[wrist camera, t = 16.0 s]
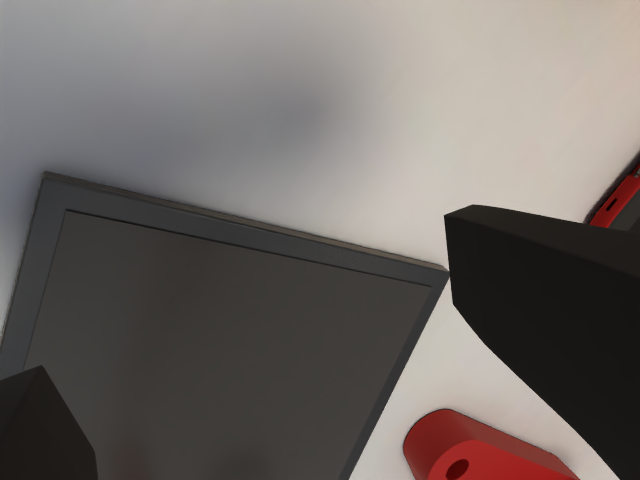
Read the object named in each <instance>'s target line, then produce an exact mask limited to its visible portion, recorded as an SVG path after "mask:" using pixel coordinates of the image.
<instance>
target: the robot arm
mask: <svg viewBox="0 0 640 480" xmlns="http://www.w3.org/2000/svg"><path fill="white" fill-rule="evenodd" d="M444 221H445V231H446V241H447V251H448V261H449V271H450V281H451V291H452V301H453V305H454V306H455V307H456V309H457V310H458V311H459V313H460V314H461V315H462V317H463V318H464V319H465V321H466V322H467V323H468V324H469V326H470V327H471V328H472V329H473V331H474V332H475V333H476V334H477V335H478V337H479V338H480V339H481V340H482V342H483V343H484V344H485V345H486V346H487V347H488V348H489V349H490V350H491V351H492V352H493V353H494V354H495V355H496V356H497V357H498V358H499V359H500V360H502V361H503V362H504V363H505V364H506V365H507V366H508V367H509V368H510V369H511V370H512V371H513V372H514V373H515V374H516V375H517V376H518V377H519V378H520V379H521V380H522V381H524V382H525V383H526V384H527V385H528V386H529V387H530V388H531V389H532V390H533V391H534V392H535V393H536V394H537V395H538V396H539V397H540V398H542V399H543V400H544V401H545V402H546V403H547V404H548V405H549V406H550V407H551V408H552V409H553V410H554V411H555V412H556V413H557V414H558V415H559V416H561V417H562V418H563V419H564V420H565V421H566V422H567V423H568V424H569V425H570V426H571V427H572V428H573V429H574V430H575V431H576V432H577V433H578V434H579V435H580V436H581V437H582V438H583V439H584V440H585V441H586V442H587V443H588V444H589V445H590V446H591V447H592V448H593V449H594V450H595V451H596V453H597V454H598V455H599V456H600V457H601V458H602V459H603V461H604V462H605V463H606V464H607V465H608V466H609V468H610V469H611V470H612V471H613V472H614V473H615V474H616V476H617V477H618V478H619V479H620V480H640V233H636V232H629V231H622V230H617V229H611V228H605V227H599V226H593V225H588V224H582V223H577V222H572V221H567V220H561V219H556V218H551V217H546V216H541V215H536V214H531V213H526V212H520V211H515V210H509V209H504V208H498V207H491V206H483V205H470V206H467V207H465V208H462V209H459V210H457V211H454V212H451V213H448V214H446V215H444ZM0 480H98V473H97V464H96V455H95V451H94V449H93V447H92V446H91V444H90V442H89V441H88V439H87V437H86V436H85V434H84V432H83V431H82V429H81V428H80V426H79V424H78V423H77V421H76V419H75V418H74V416H73V414H72V413H71V411H70V409H69V408H68V406H67V405H66V403H65V401H64V400H63V398H62V396H61V395H60V393H59V391H58V390H57V388H56V386H55V385H54V383H53V382H52V380H51V378H50V377H49V375H48V373H47V372H46V370H45V368H44V367H43V365H40V366H37V367H34V368H31V369H29V370H26V371H23V372H21V373H18V374H15V375H13V376H10V377H7V378H5V379H2V380H1V381H0Z"/></svg>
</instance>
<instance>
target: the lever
mask: <svg viewBox="0 0 640 480" xmlns="http://www.w3.org/2000/svg"><path fill="white" fill-rule="evenodd" d="M404 455H405V457H406V460H407V462H408V464H409V466H410V468H411V471H412V473H413V475H414V477H415V479H416V480H580V479H579V478H578V477H577V476H576V475H575V474H574V473H573V472H572V471H571V470H570V469H569V468H568V467H567V466H566V465H565V464H564V463H563V462H562V461H561V460H560V459H559V458H558V457H557V456H555V455H553V454H551V453H549V452H547V451H544V450H542V449H540V448H537V447H535V446H533V445H531V444H528V443H526V442H524V441H521V440H519V439H517V438H515V437H512V436H510V435H508V434H505V433H503V432H501V431H499V430H496V429H494V428H492V427H489V426H487V425H485V424H483V423H480V422H478V421H476V420H474V419H471V418H469V417H467V416H464V415H462V414H460V413H458V412H455V411H453V410H439V411H436V412H433V413H431V414H429V415H427V416H425V417H424V418H422V419H421V420H420V421H419V422H417V423H416V424H415V426H414V427H413V428H412V429H411V431H410V432H409V434H408V435H407V437H406V440H405V443H404Z"/></svg>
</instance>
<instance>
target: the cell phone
mask: <svg viewBox="0 0 640 480" xmlns="http://www.w3.org/2000/svg"><path fill="white" fill-rule="evenodd" d="M590 225H593V226H599V227H605V228H611V229H617V230H622V231H629V232H636V233H640V164H639V165H638V166H637V167H636V169H635V170H634V171H633V172H632V173H631V175H627V177H626V178H625V179H624V180H623V182H622V183H621V184H620V185H619V186H618V188H617V189H616V190H615V191H614V192H613V194H612V195H611V196H610V197H609V198H608V200H607V201H606V202H605V203H604V205H603V206H602V207H601V208H600V210H599V211H598V212H597V213H596V215H595V216H594V218H593V219H592V221H591V222H590Z"/></svg>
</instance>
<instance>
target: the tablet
mask: <svg viewBox="0 0 640 480" xmlns="http://www.w3.org/2000/svg"><path fill="white" fill-rule="evenodd" d="M449 277H450V271H448V270H447V269H446V268H444V267H443V266H440V265H436V264H431V263H427V262H423V261H419V260H415V259H410V258H406V257H402V256H398V255H394V254H390V253H385V252H381V251H377V250H373V249H369V248H365V247H360V246H356V245H352V244H348V243H344V242H339V241H335V240H331V239H327V238H323V237H319V236H314V235H310V234H306V233H302V232H298V231H293V230H289V229H285V228H281V227H277V226H273V225H268V224H264V223H260V222H256V221H252V220H248V219H243V218H239V217H235V216H231V215H227V214H222V213H218V212H214V211H210V210H206V209H202V208H197V207H193V206H189V205H185V204H181V203H177V202H172V201H168V200H164V199H160V198H156V197H151V196H147V195H143V194H139V193H135V192H131V191H126V190H122V189H118V188H114V187H110V186H105V185H101V184H97V183H93V182H89V181H85V180H80V179H76V178H72V177H68V176H64V175H60V174H55V173H51V172H47V171H44V172H43V173H42V176H41V180H40V184H39V188H38V192H37V196H36V200H35V204H34V208H33V212H32V216H31V220H30V224H29V228H28V232H27V236H26V240H25V244H24V248H23V252H22V256H21V260H20V264H19V268H18V272H17V276H16V280H15V284H14V288H13V292H12V296H11V300H10V304H9V308H8V312H7V316H6V320H5V324H4V328H3V332H2V336H1V340H0V381H1V380H2V379H5V378H7V377H10V376H13V375H15V374H18V373H21V372H23V371H26V370H29V369H31V368H34V367H37V366H40V365H43V367H44V368H45V370H46V372H47V373H48V375H49V377H50V378H51V380H52V382H53V383H54V385H55V386H56V388H57V390H58V391H59V393H60V395H61V396H62V398H63V400H64V401H65V403H66V405H67V406H68V408H69V409H70V411H71V413H72V414H73V416H74V418H75V419H76V421H77V423H78V424H79V426H80V428H81V429H82V431H83V432H84V434H85V436H86V437H87V439H88V441H89V442H90V444H91V446H92V447H93V449H94V451H95V455H96V464H97V473H98V480H349V478H350V476H351V474H352V472H353V470H354V468H355V466H356V464H357V462H358V460H359V458H360V456H361V454H362V452H363V450H364V448H365V446H366V444H367V442H368V440H369V438H370V436H371V434H372V432H373V430H374V428H375V426H376V424H377V422H378V420H379V418H380V416H381V414H382V412H383V410H384V408H385V406H386V404H387V402H388V400H389V398H390V396H391V394H392V392H393V390H394V388H395V386H396V384H397V382H398V380H399V378H400V376H401V374H402V372H403V370H404V368H405V366H406V364H407V362H408V360H409V358H410V356H411V354H412V352H413V350H414V348H415V345H416V343H417V341H418V339H419V337H420V335H421V333H422V331H423V329H424V327H425V325H426V323H427V321H428V319H429V317H430V315H431V313H432V311H433V309H434V307H435V305H436V303H437V301H438V299H439V297H440V295H441V293H442V291H443V289H444V287H445V285H446V283H447V281H448V279H449Z"/></svg>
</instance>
